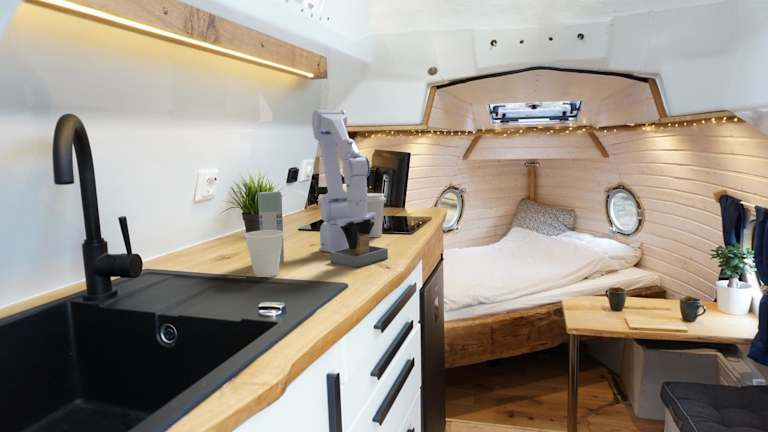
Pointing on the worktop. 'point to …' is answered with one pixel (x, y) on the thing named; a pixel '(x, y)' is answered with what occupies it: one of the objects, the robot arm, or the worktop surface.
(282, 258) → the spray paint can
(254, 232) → the cup
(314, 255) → the worktop surface
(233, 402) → the worktop surface
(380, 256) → the bin
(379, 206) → the coffee cup
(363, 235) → the walnut block
